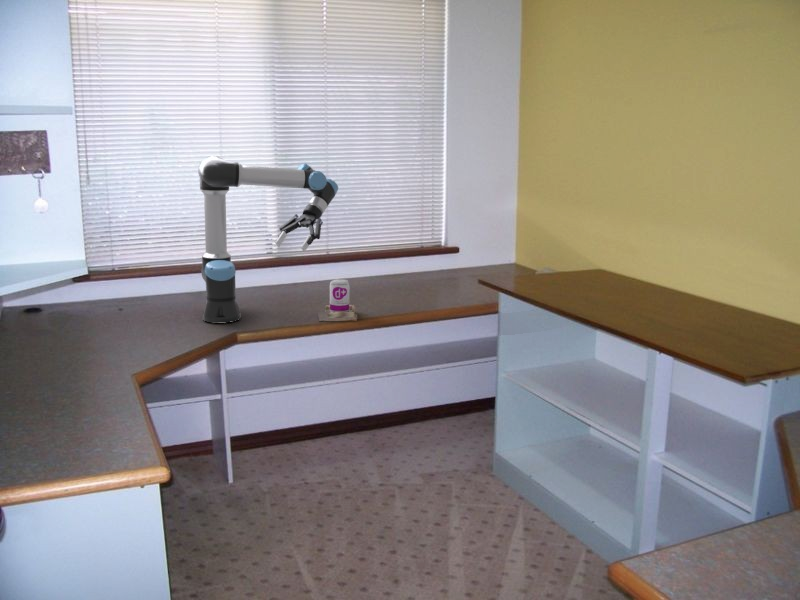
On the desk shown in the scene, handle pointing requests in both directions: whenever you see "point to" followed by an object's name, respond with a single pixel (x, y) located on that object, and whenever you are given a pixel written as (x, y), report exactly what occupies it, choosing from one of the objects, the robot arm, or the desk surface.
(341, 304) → the supplement can
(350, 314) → the dock
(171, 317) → the desk surface
